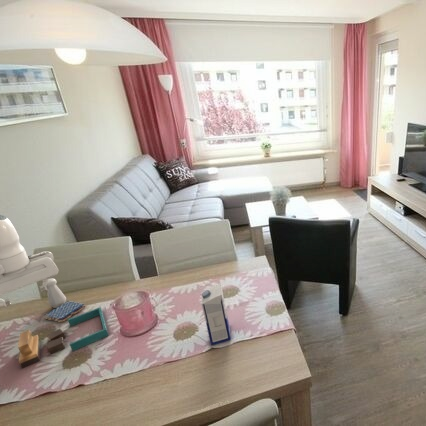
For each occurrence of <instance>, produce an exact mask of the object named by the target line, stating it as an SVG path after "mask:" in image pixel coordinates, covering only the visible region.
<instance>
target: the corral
mask: <svg viewBox="0 0 426 426" xmlns="http://www.w3.org/2000/svg"><path fill="white" fill-rule="evenodd" d="M96 317H100V321H101V325H102V329H101V330H100V329H99V330H97V331H96V332H94V333H91V334H89V335H86V336H84V337H82V338H79V339H76V340H74V341H72V342H70V343H69V347H70V349H71V351H72V352H74V351H77V350H79V349H81V348H83V347H86V346H87V345H90V344H92V343H95V342H97V341H99V340H101V339H104V338H106V337H108V336H109V332H108V331H109V330H108V328H107V324H106V320H105V315H104V311H103V309H102V307H101V306H99V307H97V308H94V309H92V310H88V311H87V312H84V313H81V314H79V315H78V314H77V315H75V316H73V317H70V318H68V319H67V322H68V324H69V326H70V327H73V326H75V325H78V324H81V323H83V322H86V321H88V320H90V319H93V318H96Z"/></svg>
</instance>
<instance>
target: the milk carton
mask: <svg viewBox="0 0 426 426" xmlns="http://www.w3.org/2000/svg"><path fill="white" fill-rule="evenodd" d="M201 307H202V311H203V315H204V320H205V323H206V328H207V333H208V338H209V341H210V345H211V346H213V345H217V344H220V343H225V342H227V341H228V342H229V341H231V340H232V338H231V328H230V322H229V318H228V317H229V316H228V313H227V308H226V303H225V297H224V293H223V286H222V283H218V284H216V285H214V286H211V287H210V288H208V289H205V290H203V291H202V292H201Z"/></svg>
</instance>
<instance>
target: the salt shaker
mask: <svg viewBox="0 0 426 426" xmlns="http://www.w3.org/2000/svg"><path fill="white" fill-rule="evenodd" d="M47 279H48V283H47V286H46V287H47V289H48V290H46V294H47V301H48V305H49V306H50V307H52V309H56V308H57V307H59V306H61V305H63V304H64V303H65V302H67V297H66V295H65V294H64V293H63V291H62V290H61V289H60V288H59V286H58V285H57V283H58V282H57V280H56V279H55V278H52V277H50V278H47Z"/></svg>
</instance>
